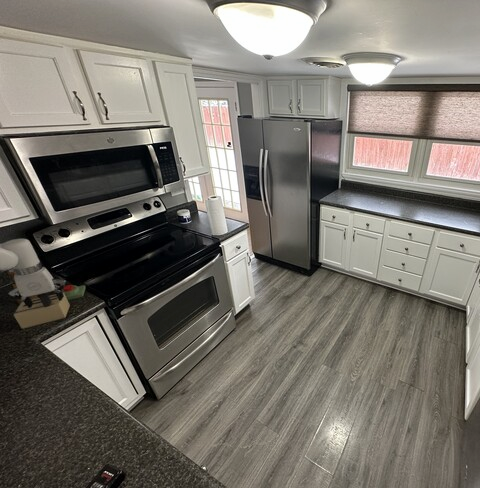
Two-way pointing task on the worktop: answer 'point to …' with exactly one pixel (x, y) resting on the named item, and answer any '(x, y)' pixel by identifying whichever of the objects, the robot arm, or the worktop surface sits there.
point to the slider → (45, 300)
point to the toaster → (41, 312)
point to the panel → (75, 292)
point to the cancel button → (68, 288)
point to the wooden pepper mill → (18, 291)
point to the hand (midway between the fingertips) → (46, 302)
